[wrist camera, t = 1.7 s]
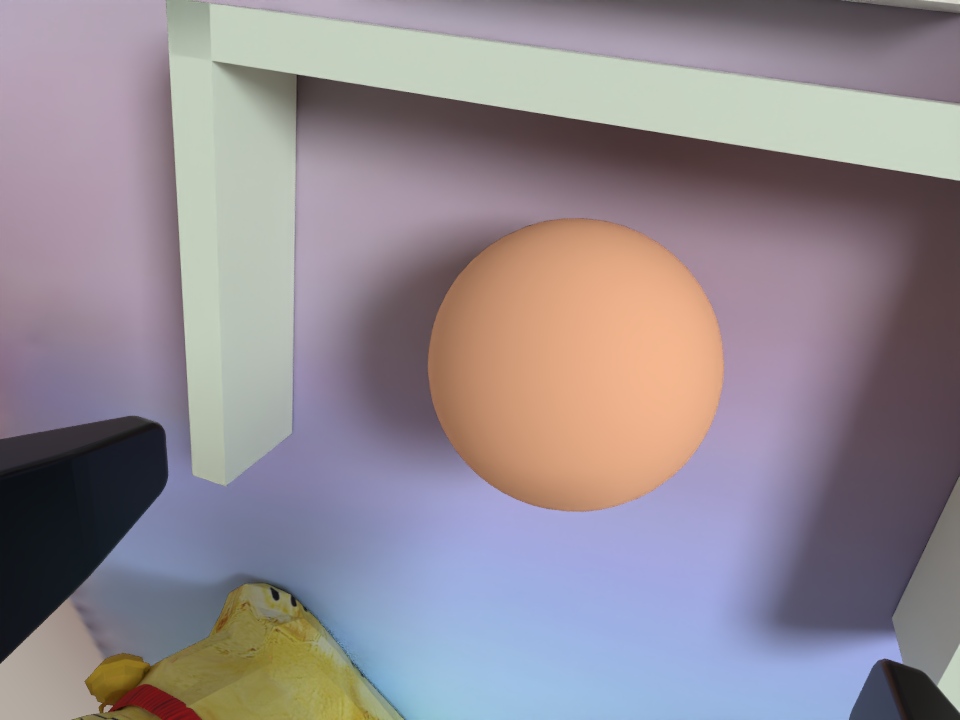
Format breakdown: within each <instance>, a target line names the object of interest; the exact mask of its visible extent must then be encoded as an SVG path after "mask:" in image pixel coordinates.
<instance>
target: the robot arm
mask: <svg viewBox="0 0 960 720" xmlns="http://www.w3.org/2000/svg"><path fill="white" fill-rule="evenodd" d="M167 479H168V461H167V447H166V434H165V431H164V429H163V427H162V425H160V424H159V423H157V422H154V421H151V420H148V419H145V418H142V417H139V416H127V417H121V418H116V419H110V420H105V421H99V422H94V423H88V424H83V425H77V426H72V427H66V428H61V429H55V430H49V431H44V432H38V433H33V434H27V435H22V436H16V437H11V438H5V439H0V664H1V663H2V661H4V660H5V659H6V658H7V657H8V656H9V655H10V654H11V653H12V652H13V651H14V650H15V649H16V648H17V647H18V646H19V645H20V644H21V643H22V642H23V641H24V640H25V639H26V638H27V637H28V636H29V635H30V634H31V633H32V632H33V631H34V630H35V629H37V628H38V627H39V625H41V624H42V623H43V622H44V621H45V620H46V619H47V618H48V617H49V616H50V615H51V614H52V613H53V612H54V611H55V610H56V609H57V608H58V607H59V606H60V605H61V604H62V603H63V602H64V601H65V600H66V599H67V598H68V597H69V596H70V595H71V594H73V593H74V592H75V591H76V589H77V588H78V587H79V586H80V585H81V584H82V583H83V582H84V581H85V580H86V579H87V578H88V577H89V576H90V575H91V574H92V573H93V572H94V571H95V569H96V568H97V567H98V566H99V565H100V564H101V563H102V561H103V560H104V559H105V558H106V557H107V556H108V554H109V553H110V552H111V551H112V550H113V549H114V547H115V546H116V545H117V544H118V543H119V542H120V540H121V539H122V538H123V537H124V536H125V535H126V533H127V532H128V531H129V530H130V529H131V528H132V526H133V525H134V524H135V523H136V522H137V521H138V519H139V518H140V517H141V516H142V515H143V514H144V512H145V511H146V510H147V509H148V508H149V507H150V505H151V504H152V503H153V502H154V501H155V500H156V498H157V497H158V496H159V495H160V494H161V492H162V491H163V489H164V487H165V485H166V483H167ZM849 720H960V712H959V711H958V710H957V709H956V708H955V706H954V705H953V704H952V703H951V702H950V701H949V699H948V698H947V697H946V696H945V695H944V694H943V692H942V691H941V690H940V689H939V688H938V687H937V685H936V684H935V683H934V682H933V681H932V680H931V678H930V677H929V676H928V675H927V674H926V673H924V672H923V671H921V670H919V669H916V668H913V667H910V666H907V665H904V664H901V663H898V662H895V661H891V660H888V659H882V660H878V661H877V663H876V664H875V665H874V666H873V668H872V669H871V671H870V674H869V676H868V678H867V680H866V682H865V684H864V686H863V688H862V690H861V692H860V694H859V697H858V699H857V701H856V703H855V705H854V707H853V709H852V712H851V714H850V717H849Z"/></svg>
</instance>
